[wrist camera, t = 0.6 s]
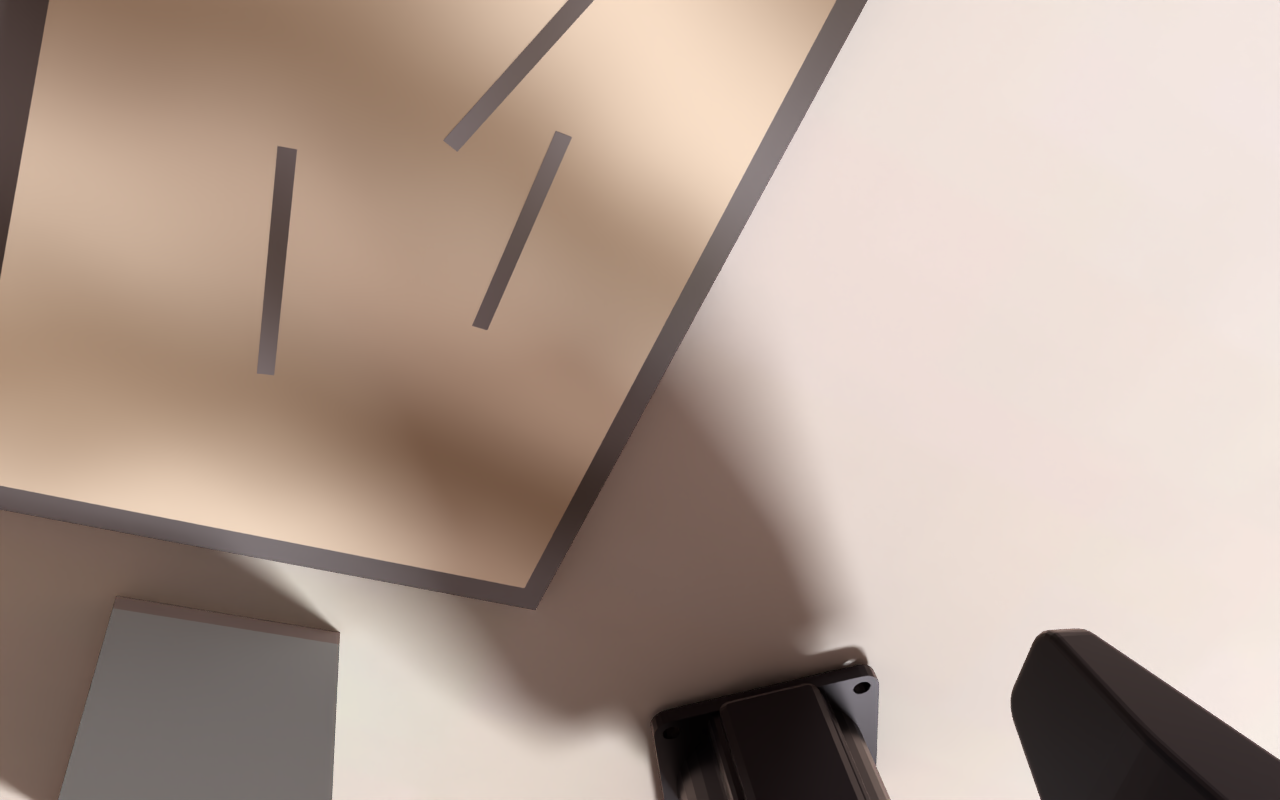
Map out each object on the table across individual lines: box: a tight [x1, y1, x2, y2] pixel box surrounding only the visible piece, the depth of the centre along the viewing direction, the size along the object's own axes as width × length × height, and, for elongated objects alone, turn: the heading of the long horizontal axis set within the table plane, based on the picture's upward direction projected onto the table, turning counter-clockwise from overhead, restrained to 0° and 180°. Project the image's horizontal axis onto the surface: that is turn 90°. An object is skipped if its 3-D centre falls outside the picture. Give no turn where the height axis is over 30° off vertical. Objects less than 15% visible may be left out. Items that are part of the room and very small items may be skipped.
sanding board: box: [0, 0, 867, 610], centre depth 18 cm, size 21×13×2 cm, turn 154°
